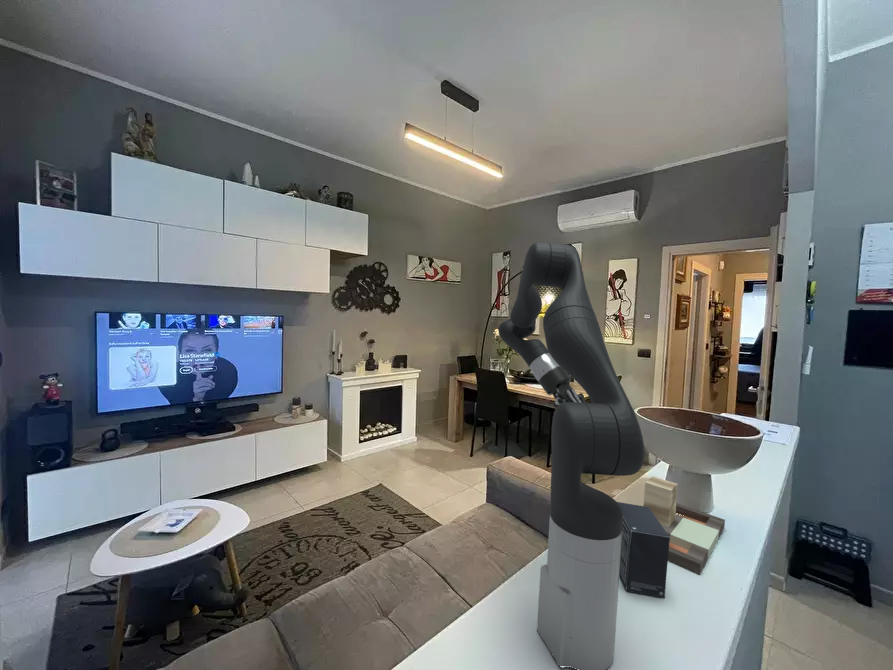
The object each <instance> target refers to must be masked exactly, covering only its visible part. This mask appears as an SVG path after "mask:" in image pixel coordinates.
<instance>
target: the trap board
mask: <svg viewBox="0 0 893 670" xmlns="http://www.w3.org/2000/svg"><path fill="white" fill-rule="evenodd" d="M676 513H678V515H675V520H674V521H673V523H672V524H671V525H670V526H669V528H668V527H665V526H663V525H662V527H663V528H664V529H665V531H666V532H667V534H668V535H669V536H670V534H671V533H672V531H673V530H674V529H675V528H676V526H677V525H678V524H679V523H680V521H681V520H682V519H683V518H686V519H689V520H692V521H694V522H697V523H700V524H703V525H705V526H708V527H711V528H714V529H716V530H719V537H721V536H720V535H722V534H723V532H724V530H725V525H726V524H725V523H726V519H724V518H721V517H718V516H715V515H712V514H709V513H707V512H703V511H701V510H697V509H694V508H691V507H690V506H687V505H683V504H680V503H677V502H676ZM679 514H681V515H682V516H681V515H680V516H679ZM683 515H684V516H683ZM723 529H724V530H723ZM722 531H723V532H722ZM721 533H722V534H721ZM718 539H719V540H720V538H718ZM708 560H709V558H708V549H706V548H703V547H701V546H698V545H696V544H693V545H692V546H691V548H690V549H689V550H687V549H684V548H682V547H680V546H677V545H675V544H672V543H670V541H669V552H668V562H669V563H672V564H674V565H676V566H678V567H680V568H683V569H685V570H688V571H690V572H692V573H694V574H696V575H699V576H700V575H701V573H702V571H703V570H704V567H705V566H706V564H707V563H708Z"/></svg>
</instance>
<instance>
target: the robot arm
mask: <svg viewBox="0 0 893 670" xmlns="http://www.w3.org/2000/svg"><path fill="white" fill-rule="evenodd" d="M519 280H520V281H519V284H518V290H517V295H516V298H515V299H516V300H515V301H514V303H513V307H512V309H511V312H510V316H509V317H510V318H509V319H506V320H504V321H502V322H501V323H500V324H499V325H498V335H499V337H500V339H501V340H502V341H503V343H505V344H506V345H507V346H508V347H510V348H511V349H512V350H513V351H514V352H516V354H518V356H520V357H521V358H522V359H523V360H524V362H525V363H526V364H527V366H528V367H529V369H530V370H531V373H532V374H533V377H534V378H535V380H536V381H538V383H539V385H540V386H541V387H542V389H543V390H544V392H545V393H546V394H547V395H548V396H551V395H552V396H553V398H554V400H555V401H554V402H553V403H552V405H553V407H555V409H554V412H553V416H552V422H551V439H550V440H551V441H550V442H551V467H550V468H551V471H550V472H551V473H550V509H549V522H548V523H549V526H548V537H547V539H548V542H547V555H546V556H547V558H546V559H547V561H546V564H542V565H541V566H540V571H539V575H540V576H539V590H538V606H537V607H538V609H537V625H536V630H537V633H538V634H539V635H540V637H541V639H542V641H543V642H544V644H545V645H546V647H547V649H548V650H549V652H550V654H551V653H552V654H553V655H552V654H551V655H552V657H553V656H554V657H553V659H554V658H555V659H556V660H555V659H554V660H555V662H556V661H557V662H558V664H559V665H560V666H571V667H573V668H576V669H579V670H607V669H609V668H610V666H611V665H612V664H613V661H614V657H615V644H616V632H617V631H616V629H617V615H618V614H617V613H618V601H619V600H618V599H619V586H620V585H619V583H620V576H619V572H620V557H621V543H622V528H623V512H622V509H621V507H620V505H619V504H618V503H617V502H618V501H617V500H615V499H614V498H613V497H611V496H610V495H608V494H607V493H605V492H604V491H601V490H599V489H597V488H594V487H592V486H590V485H588V484H586V483H585V482H582V478H581V477H582V475H583V474H587V475H602V476H620V477H624V476H632V475H635V474H636V473H638V472H639V471H640V470H641V468H642V467H643V465H644V460H645V445H644V444H645V443H644V437H643V434H642V430H641V427H640V423H639V420H638V418H637V415H636V413H635V411H634V409H633V406H632V404H631V403H630V400H629V398H628V396H627V394H626V392H625V390H624V388H623V386H622V383H621V381H620V379H619V377H618V375H617V373H616V370H615V369H614V365H613V363H612V360H611V358H610V355H609V353H608V350H607V347H606V344H605V341H604V337H603V336H604V335H603V334H602V330H601V327H600V324H599V321H598V318H597V314H596V313H595V310H594V309H593V306H592V303H591V299H590V297H589V293H588V290H587V287H586V286H587V285H586V282H585V277H584V272H583V265H582V261H581V257H580V254H579V252H578V250H577V248H575V246H572V245H571V244H564V243H554V242H553V243H552V242H544V241H537V242H534V243H532V244H531V245H530V246H529V248H528V250H527V252H526V254H525V257H524V262H523V267H522V271H521V276H520V279H519ZM535 285H536V286H541V287H553V288H559V289H561V292H560V293H559V294H558V295H557V296H556V298H554V300H552V302H551V303H550V304H549V306H548V307H547V309H546V310H545V313H544V315H543V318H542V327H543V333H544V339H545V343H546V345H545V344H544V343H543V342H542V340H541V339H539V338H538V339H537V338H534V339H532V338H531V339H526V338H529V337H530V336H532V335H533V334H534V333H535V331H536V328H537V327H536V321H537V318H538V317H539V315H540V314H541V311H542V309H543V307H542V306H543V301H542V297H541V295H540V294H539V291H538V290H537V288H536V286H535ZM572 379H573V380H574V381H575V382H577V384H578V385H579V386H580V387H581V388H582V389H583V390H584V391H585V393H586V395H587V396H588V398H589V400H590V401H591V402H586V399H585V395H584V394H583V393H582V392H580V393H577V392H576V390H575V389H574V388H573V387H572V386H571V385H570V383H571V382H572ZM557 662H556V663H557ZM558 664H557V665H558ZM559 665H558V666H559Z"/></svg>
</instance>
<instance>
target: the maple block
mask: <svg viewBox="0 0 893 670" xmlns="http://www.w3.org/2000/svg"><path fill="white" fill-rule="evenodd" d="M678 485H679V484H678V483H677V482H673V481H669V480H666V479H663V478H659V477H656V476H651V477H650V478H648V480H646V481H645V482H644V494H643V495H644V498H643V506H646V507H649V508H650V509H651V511H652V512H653V514H654V515H655V517H656V518H657V520H658V521H659V522H660V524H661V525H663V526H665V527H668V528H669V526H670V525H671V524H672V523H673V521H674V520H675V514H676V503H677V498H678Z"/></svg>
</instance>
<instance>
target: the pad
mask: <svg viewBox="0 0 893 670" xmlns="http://www.w3.org/2000/svg"><path fill="white" fill-rule="evenodd" d="M718 538H719V530H716V529H714V528H711V527H708V526H705V525H703V524H700V523H697V522H694V521H692V520H689V519H686V518H683V519H682V520H681V521H680V523H679V524H678V525H677V526H676V528H675V529H674V530H673V531H672V533H671V534H670V543H672V544H675V545H677V546H680V547H682V548H684V549H687V550H689V549H690V548H691V546H692V545H693V544H696V545H698V546H701V547H703V548H706V549H708V559H709V558H710V557H711V555H712V553H713V550H714V549H715V547H716V545H717V544H718V541H719V540H718ZM719 539H720V538H719Z"/></svg>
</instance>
